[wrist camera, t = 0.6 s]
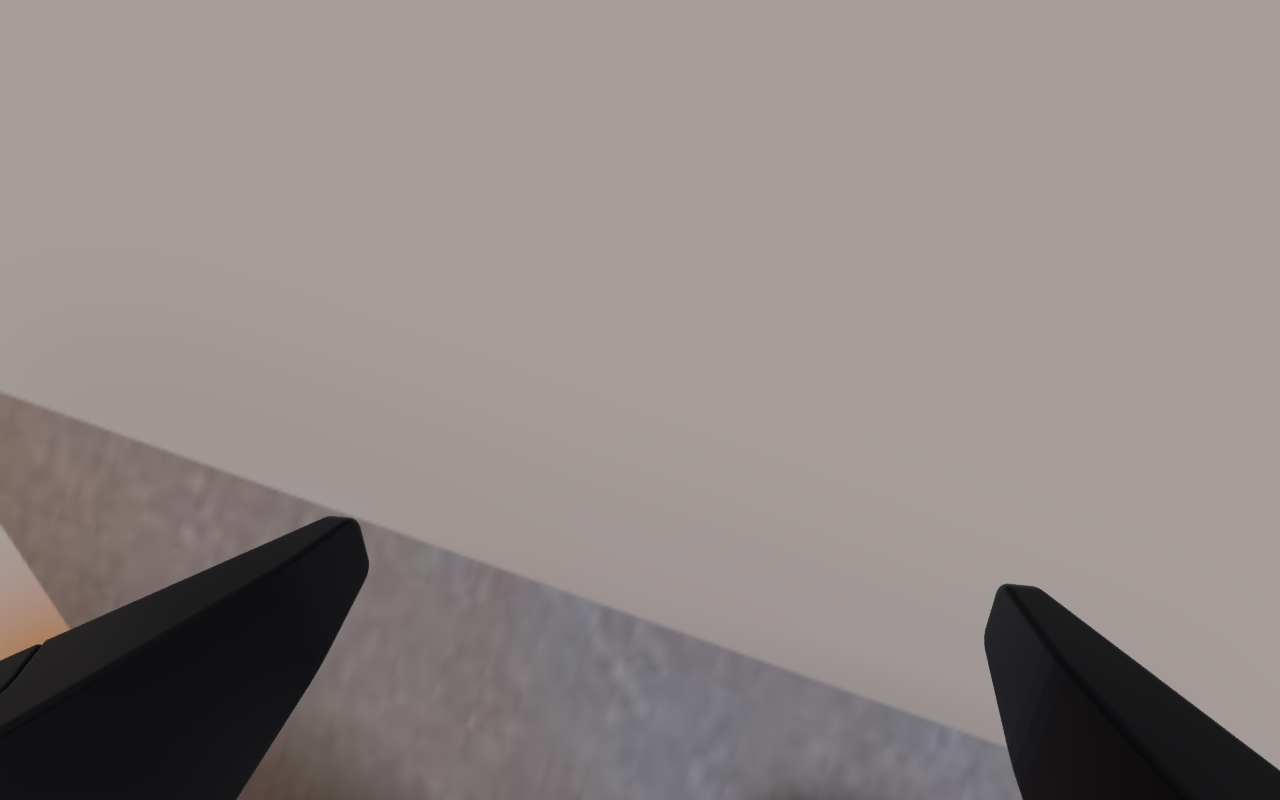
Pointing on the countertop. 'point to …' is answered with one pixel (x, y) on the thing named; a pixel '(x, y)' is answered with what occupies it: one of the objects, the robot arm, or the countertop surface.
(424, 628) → the countertop surface
